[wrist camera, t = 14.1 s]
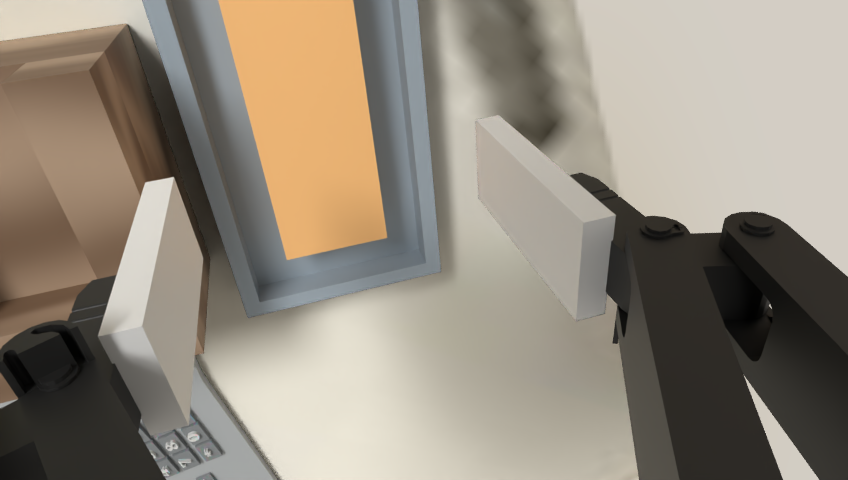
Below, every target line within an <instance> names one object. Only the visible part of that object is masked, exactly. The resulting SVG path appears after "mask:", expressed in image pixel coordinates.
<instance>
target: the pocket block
mask: <svg viewBox="0 0 848 480" xmlns="http://www.w3.org/2000/svg"><path fill="white" fill-rule="evenodd" d="M171 177H174V178H175V181H176V184H177V187H178V190H179V192H180V195H181V198H182V201H183V203H184V206H185V209H186V212H187V214H188V217H189V220H190V223H191V225H192V228H193V231H194V234H195V237H196V239H197V242H198V245H199V248H200V250H201V253H202V256H203V267H202V278H201V290H200V301H199V313H198V324H197V336H196V347H195V355H198V354H202V353H204V343H205V329H206V314H207V299H208V284H209V270H210V257H209V254H208V251H207V249H206V246H205V243H204V240H203V237H202V234H201V232H200V229H199V226H198V223H197V220H196V218H195V215H194V212H193V209H192V206H191V203H190V201H189V198H188V195H187V192H186V189H185V186H184V184H183V181H182V178H181V175H180V172H179V170H178V167H177V164H176V161H175V158H174V155H173V153H172V150H171V147H170V144H169V141H168V138H167V136H166V133H165V130H164V127H163V124H162V122H161V119H160V116H159V113H158V110H157V107H156V105H155V102H154V99H153V96H152V93H151V90H150V88H149V85H148V82H147V79H146V76H145V74H144V71H143V68H142V65H141V62H140V59H139V57H138V54H137V51H136V48H135V45H134V42H133V40H132V37H131V34H130V31H129V28H128V26H127V24H121V25H113V26H106V27H99V28H92V29H85V30H78V31H71V32H64V33H57V34H50V35H42V36H35V37H28V38H21V39H14V40H7V41H0V349H1V348H2V346H3V345H4V344H6V343H7V342H8V341H9V340H10V339H12V338H13V337H14V336H15V335H17V334H19V333H21V332H23V331H24V330H26V329H28V328H30V327H33V326H36V325H38V324H41V323H44V322H49V321H55V320H65V321H67V320H68V318H69V315H70V313H72V307H73V305H74V302H75V300H76V297H77V295H78V294H79V293H80V292H81V291H82V290H83V289H84V288H85V287H86V286H87V285H88V284H89V283H90V282H91V281H92V280H96V279H100V278H105V277H109V276H114V275H117V272H118V269H119V266H120V263H121V259H122V256H123V253H124V250H125V246H126V243H127V240H128V237H129V233H130V230H131V227H132V224H133V220H134V217H135V214H136V211H137V207H138V204H139V201H140V198H141V194H142V191H143V188H144V185H145V182H150V181H156V180H161V179H166V178H171ZM17 399H18V397H17V396H16V395H15V393H14V392H13V390H12V389H11V387H10V386H9V384H8V383H7V381H6V380H5V379H4V377H3V376H2V374H1V373H0V403H4V402H8V401H12V400H17Z"/></svg>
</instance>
